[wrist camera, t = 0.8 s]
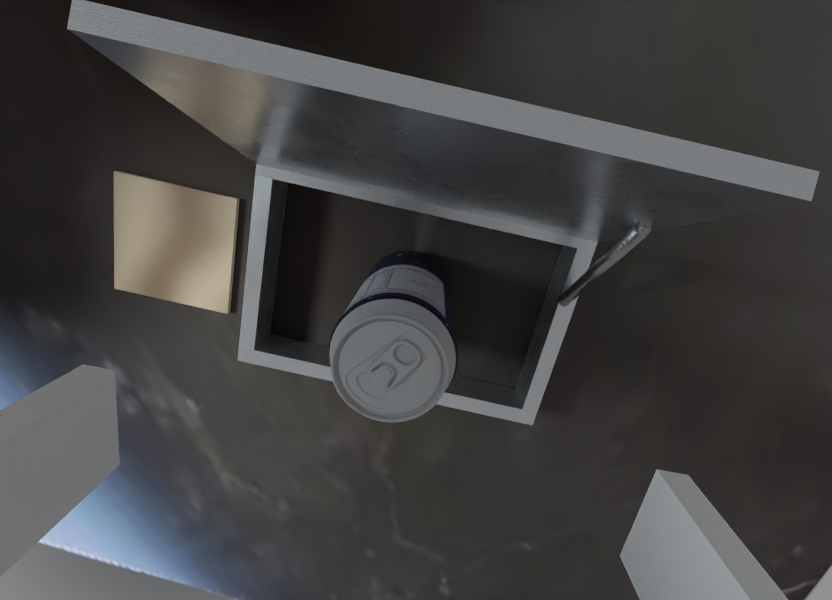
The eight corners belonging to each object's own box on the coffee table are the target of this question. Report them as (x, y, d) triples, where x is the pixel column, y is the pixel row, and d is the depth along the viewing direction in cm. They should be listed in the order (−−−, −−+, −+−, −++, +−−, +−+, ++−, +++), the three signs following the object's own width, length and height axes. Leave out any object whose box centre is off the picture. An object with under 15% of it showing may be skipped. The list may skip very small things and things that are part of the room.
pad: (118, 287, 30) (114, 288, 29) (118, 170, 27) (113, 170, 27) (230, 311, 30) (227, 313, 30) (239, 198, 27) (237, 198, 27)
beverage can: (350, 290, 29) (292, 371, 18) (407, 230, 28) (384, 276, 16) (411, 343, 30) (393, 454, 19) (468, 288, 28) (488, 371, 17)
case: (255, 343, 31) (84, 508, 16) (282, 93, 25) (65, -6, 11) (524, 403, 31) (602, 619, 16) (605, 168, 26) (826, 171, 11)
